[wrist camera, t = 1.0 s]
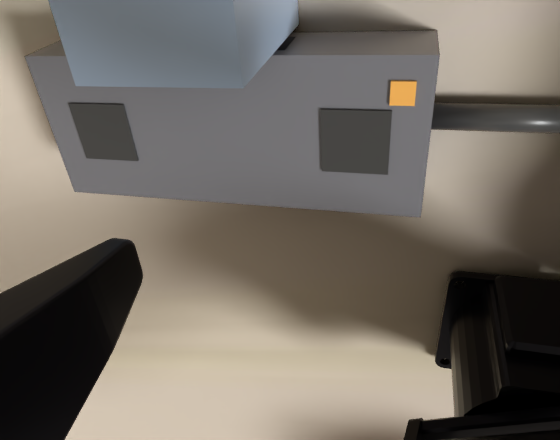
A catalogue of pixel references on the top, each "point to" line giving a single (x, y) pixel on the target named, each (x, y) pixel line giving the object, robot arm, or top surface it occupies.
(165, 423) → the top surface
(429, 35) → the power strip
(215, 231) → the top surface
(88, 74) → the charger
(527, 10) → the top surface
